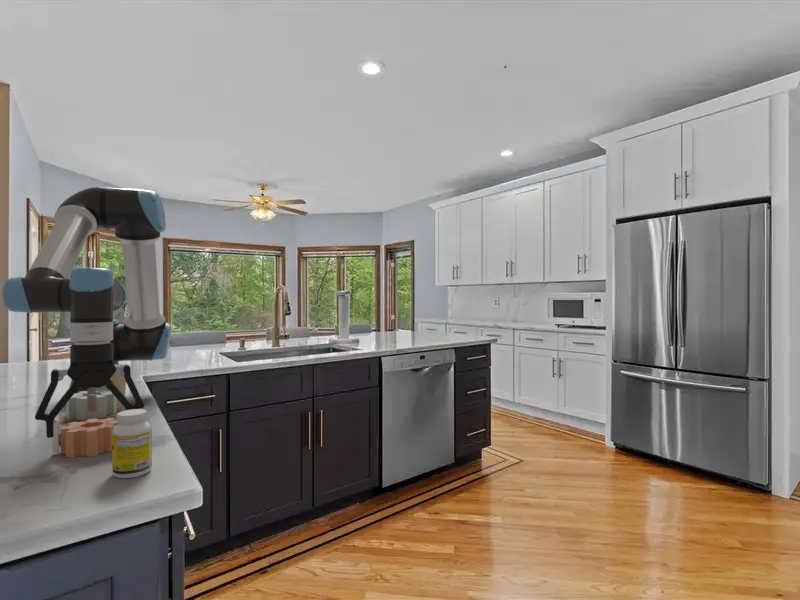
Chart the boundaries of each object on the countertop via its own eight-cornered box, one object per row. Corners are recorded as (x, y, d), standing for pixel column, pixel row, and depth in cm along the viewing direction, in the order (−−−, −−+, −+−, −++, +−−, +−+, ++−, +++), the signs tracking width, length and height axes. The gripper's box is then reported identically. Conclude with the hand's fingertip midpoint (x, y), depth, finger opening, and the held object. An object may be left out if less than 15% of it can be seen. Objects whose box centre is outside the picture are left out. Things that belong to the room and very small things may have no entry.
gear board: (60, 422, 118) (60, 385, 118) (121, 415, 125) (121, 381, 125) (55, 443, 102) (55, 401, 101) (125, 434, 109) (126, 395, 109)
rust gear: (62, 445, 100) (62, 422, 100) (120, 437, 106) (120, 415, 106) (59, 461, 92) (59, 435, 91) (123, 451, 97) (123, 427, 97)
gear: (58, 415, 117) (58, 394, 117) (104, 406, 126) (104, 388, 126) (77, 422, 111) (77, 400, 111) (124, 412, 120) (124, 393, 120)
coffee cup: (135, 408, 133) (135, 365, 133) (104, 416, 124) (104, 370, 124) (110, 405, 136) (110, 363, 136) (78, 413, 127) (78, 368, 127)
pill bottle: (122, 466, 89) (122, 408, 89) (157, 466, 89) (157, 407, 89) (105, 480, 83) (105, 416, 82) (142, 479, 83) (142, 416, 83)
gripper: (16, 347, 89) (16, 463, 89) (158, 341, 102) (158, 442, 102) (21, 343, 95) (21, 452, 95) (154, 338, 108) (154, 434, 108)
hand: (92, 447), depth 99 cm, fingers open, 11 cm apart
